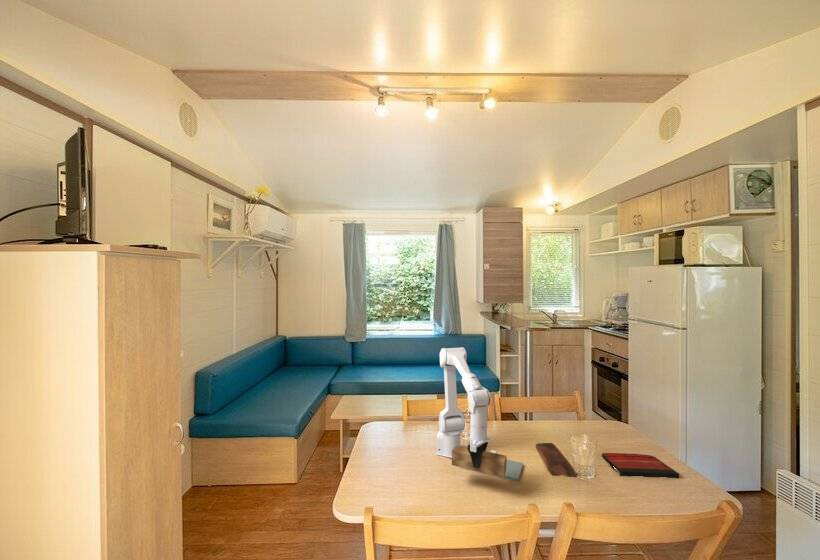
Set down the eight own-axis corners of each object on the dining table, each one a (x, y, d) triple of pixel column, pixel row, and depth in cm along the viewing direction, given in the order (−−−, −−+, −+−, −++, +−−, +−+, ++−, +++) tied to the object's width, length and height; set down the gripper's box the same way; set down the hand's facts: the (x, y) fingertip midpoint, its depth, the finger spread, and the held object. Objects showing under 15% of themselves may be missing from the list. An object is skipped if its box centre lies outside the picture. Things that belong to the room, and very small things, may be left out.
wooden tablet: (532, 440, 157) (555, 438, 156) (533, 445, 157) (556, 443, 156) (550, 474, 130) (578, 472, 129) (551, 480, 130) (579, 478, 129)
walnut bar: (451, 465, 125) (451, 450, 125) (456, 458, 129) (456, 444, 129) (503, 477, 117) (503, 462, 117) (506, 470, 121) (506, 455, 121)
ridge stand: (459, 467, 136) (459, 457, 136) (467, 453, 147) (467, 443, 147) (518, 481, 127) (518, 470, 126) (522, 465, 137) (523, 455, 137)
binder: (679, 473, 129) (619, 471, 130) (679, 479, 129) (619, 477, 130) (652, 453, 145) (599, 451, 146) (652, 459, 145) (599, 457, 146)
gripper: (485, 435, 115) (485, 476, 115) (494, 418, 128) (494, 456, 128) (464, 430, 118) (463, 471, 118) (475, 415, 131) (475, 452, 131)
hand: (478, 463), depth 123 cm, fingers closed on walnut bar, 5 cm apart
